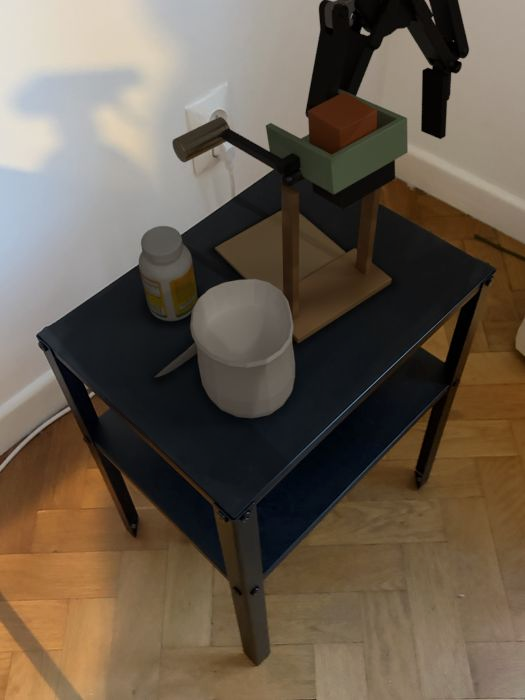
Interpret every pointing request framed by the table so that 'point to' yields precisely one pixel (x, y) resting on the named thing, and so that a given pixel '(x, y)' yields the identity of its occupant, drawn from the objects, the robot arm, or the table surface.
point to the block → (340, 122)
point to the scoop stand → (328, 271)
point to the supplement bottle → (167, 274)
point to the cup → (245, 347)
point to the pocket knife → (179, 360)
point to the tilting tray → (314, 155)
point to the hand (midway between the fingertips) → (390, 156)
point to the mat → (277, 250)
